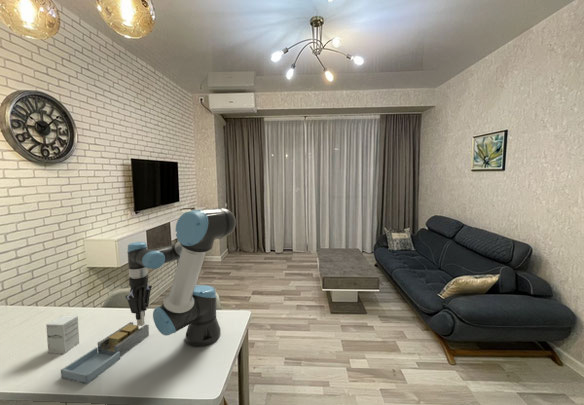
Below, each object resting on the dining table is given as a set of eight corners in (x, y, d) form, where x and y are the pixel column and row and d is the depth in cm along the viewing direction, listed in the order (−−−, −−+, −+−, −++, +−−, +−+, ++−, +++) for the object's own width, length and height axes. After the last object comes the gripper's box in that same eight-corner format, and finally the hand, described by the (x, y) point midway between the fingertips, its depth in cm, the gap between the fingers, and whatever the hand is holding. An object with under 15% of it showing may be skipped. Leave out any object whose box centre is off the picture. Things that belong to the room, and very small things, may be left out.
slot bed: (148, 335, 118) (148, 324, 117) (118, 358, 102) (117, 346, 102) (131, 332, 120) (130, 322, 120) (98, 354, 105) (97, 343, 104)
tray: (120, 358, 102) (119, 351, 102) (87, 384, 89) (87, 375, 89) (96, 354, 105) (95, 347, 105) (61, 377, 92) (60, 370, 92)
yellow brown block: (128, 340, 110) (127, 333, 109) (118, 347, 105) (118, 339, 105) (118, 339, 111) (118, 331, 110) (109, 345, 106) (108, 337, 106)
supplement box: (47, 353, 105) (45, 324, 104) (64, 342, 112) (62, 314, 111) (64, 354, 105) (62, 324, 104) (80, 342, 112) (78, 315, 111)
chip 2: (138, 333, 115) (138, 325, 115) (130, 339, 111) (130, 331, 111) (129, 331, 116) (129, 324, 116) (121, 337, 112) (120, 329, 112)
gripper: (143, 270, 125) (145, 316, 127) (119, 280, 112) (122, 331, 114) (156, 271, 123) (158, 318, 125) (133, 281, 110) (135, 333, 112)
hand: (140, 324), depth 119 cm, fingers closed
